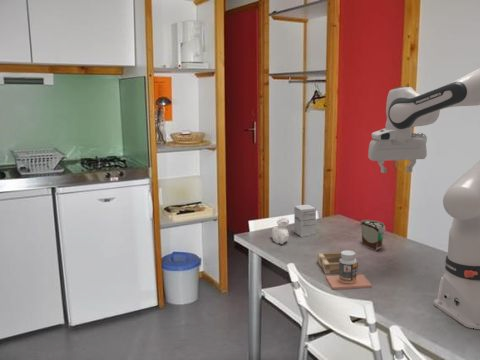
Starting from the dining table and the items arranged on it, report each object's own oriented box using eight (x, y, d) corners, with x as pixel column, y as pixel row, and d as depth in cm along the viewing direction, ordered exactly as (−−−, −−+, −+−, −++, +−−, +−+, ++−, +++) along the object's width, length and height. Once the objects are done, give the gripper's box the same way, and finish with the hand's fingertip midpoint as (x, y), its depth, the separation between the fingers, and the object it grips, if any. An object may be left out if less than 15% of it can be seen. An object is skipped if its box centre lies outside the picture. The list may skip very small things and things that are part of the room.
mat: (371, 287, 154) (371, 285, 154) (332, 289, 154) (332, 287, 153) (362, 276, 163) (362, 274, 163) (325, 278, 162) (325, 276, 162)
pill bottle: (356, 284, 155) (357, 256, 153) (338, 283, 156) (339, 255, 154) (355, 277, 160) (356, 250, 158) (338, 276, 161) (339, 249, 159)
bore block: (357, 272, 167) (357, 263, 166) (325, 274, 166) (325, 264, 165) (348, 260, 178) (348, 251, 177) (317, 261, 177) (317, 253, 177)
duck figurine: (287, 250, 196) (302, 227, 197) (274, 242, 193) (289, 219, 194) (275, 241, 207) (289, 220, 208) (262, 233, 204) (276, 211, 205)
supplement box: (293, 232, 212) (293, 205, 210) (308, 230, 214) (308, 203, 212) (300, 237, 205) (300, 209, 203) (316, 235, 208) (316, 207, 205)
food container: (391, 250, 187) (392, 226, 185) (378, 252, 185) (379, 228, 183) (372, 240, 199) (372, 218, 196) (359, 243, 196) (360, 220, 194)
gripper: (422, 131, 169) (420, 169, 172) (367, 133, 168) (366, 171, 171) (431, 133, 163) (428, 172, 166) (373, 135, 161) (372, 175, 164)
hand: (396, 172), depth 168 cm, fingers open, 8 cm apart
